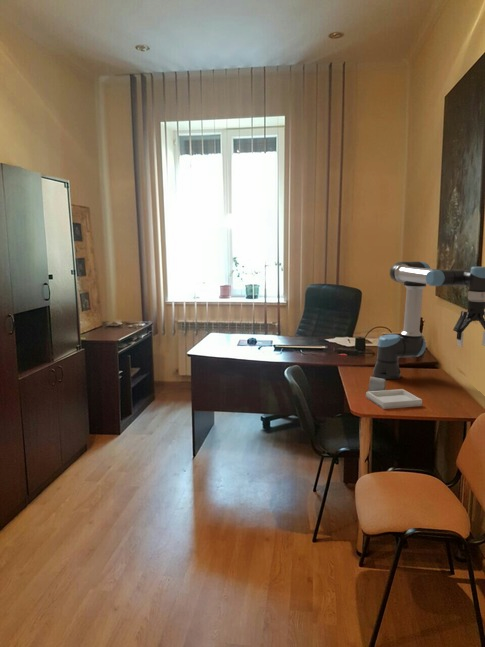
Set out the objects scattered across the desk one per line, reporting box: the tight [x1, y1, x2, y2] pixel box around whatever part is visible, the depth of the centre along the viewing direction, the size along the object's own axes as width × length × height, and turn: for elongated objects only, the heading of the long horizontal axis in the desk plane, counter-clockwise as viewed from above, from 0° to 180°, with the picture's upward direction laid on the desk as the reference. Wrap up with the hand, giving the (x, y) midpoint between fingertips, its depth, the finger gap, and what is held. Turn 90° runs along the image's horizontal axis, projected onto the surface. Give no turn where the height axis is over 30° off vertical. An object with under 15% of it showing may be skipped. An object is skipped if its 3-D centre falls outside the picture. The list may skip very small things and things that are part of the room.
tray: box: [365, 388, 423, 410], centre depth 221 cm, size 16×20×3 cm
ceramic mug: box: [368, 376, 387, 391], centre depth 236 cm, size 11×8×8 cm
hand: (472, 346), depth 215 cm, fingers open, 13 cm apart
